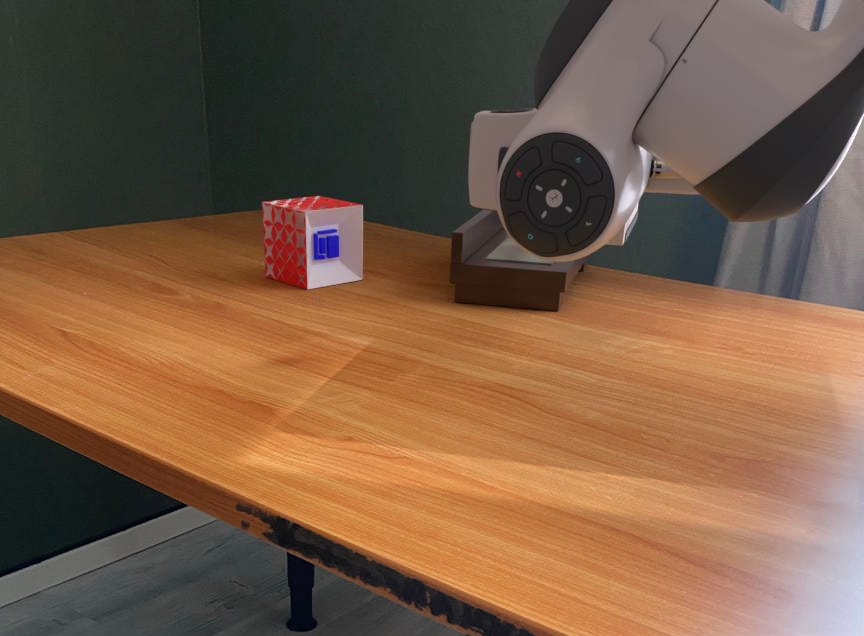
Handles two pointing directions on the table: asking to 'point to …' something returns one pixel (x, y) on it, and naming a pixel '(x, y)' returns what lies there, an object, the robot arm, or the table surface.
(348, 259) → the red and white cube
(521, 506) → the table surface
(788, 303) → the table surface
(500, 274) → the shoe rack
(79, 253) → the table surface
